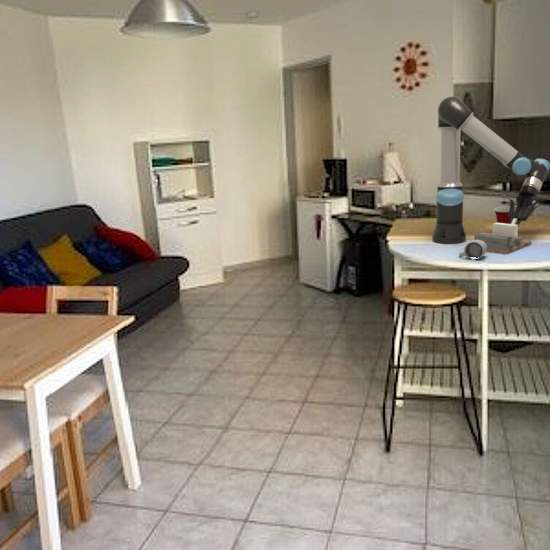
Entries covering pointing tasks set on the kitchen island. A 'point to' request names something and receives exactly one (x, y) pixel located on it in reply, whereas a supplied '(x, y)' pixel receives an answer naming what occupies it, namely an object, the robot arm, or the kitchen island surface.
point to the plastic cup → (503, 214)
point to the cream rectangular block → (505, 229)
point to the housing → (501, 242)
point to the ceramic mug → (474, 249)
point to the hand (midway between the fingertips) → (510, 232)
